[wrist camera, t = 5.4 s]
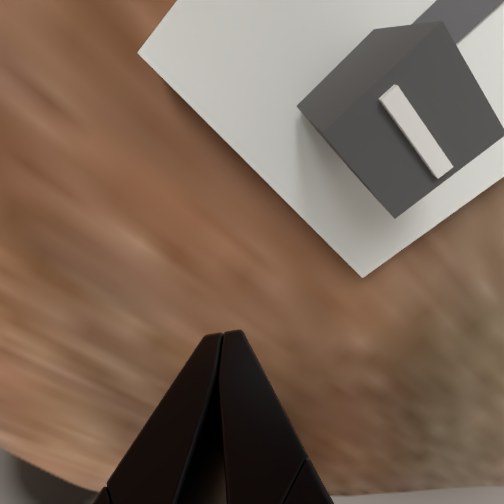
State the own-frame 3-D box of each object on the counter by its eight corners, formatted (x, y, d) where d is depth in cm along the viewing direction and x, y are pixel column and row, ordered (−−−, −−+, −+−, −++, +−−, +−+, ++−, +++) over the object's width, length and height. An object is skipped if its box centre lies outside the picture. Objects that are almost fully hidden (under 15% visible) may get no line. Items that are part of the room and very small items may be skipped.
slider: (296, 106, 11) (324, 134, 8) (373, 29, 10) (447, 20, 7) (351, 171, 12) (397, 222, 9) (425, 107, 11) (512, 135, 8)
